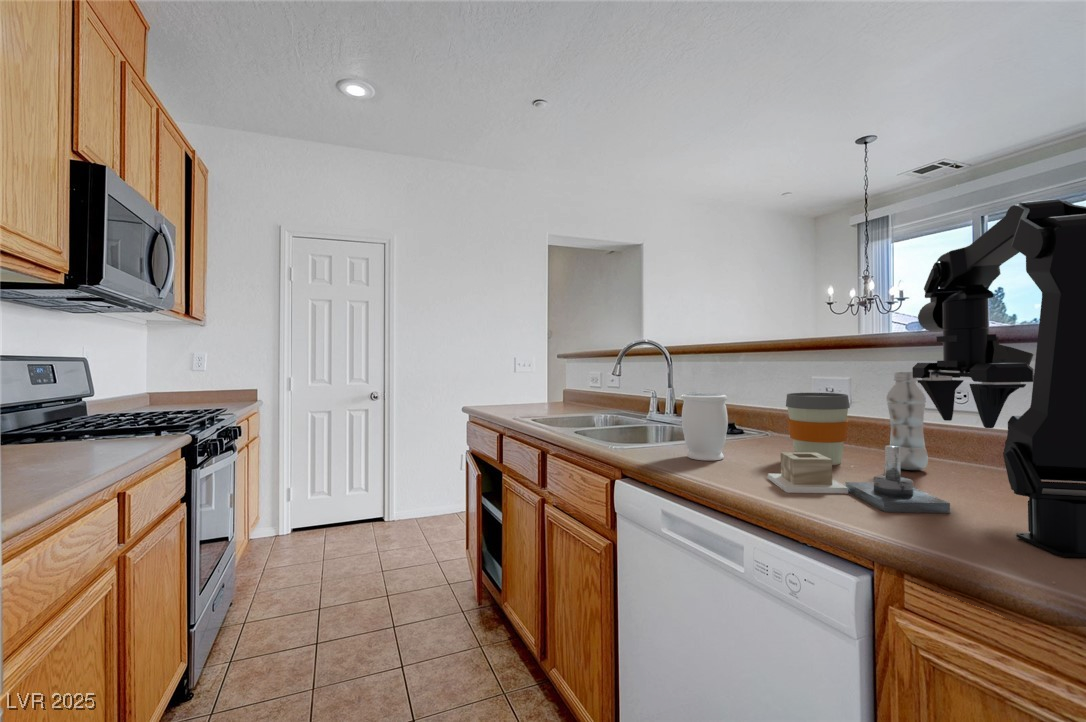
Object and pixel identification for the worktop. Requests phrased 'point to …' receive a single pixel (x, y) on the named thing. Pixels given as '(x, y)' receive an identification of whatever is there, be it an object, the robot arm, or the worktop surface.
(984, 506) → the worktop surface
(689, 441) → the jar
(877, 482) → the post stand
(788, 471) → the collar
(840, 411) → the reusable coffee cup
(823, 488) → the tile pad
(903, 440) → the plastic bottle
